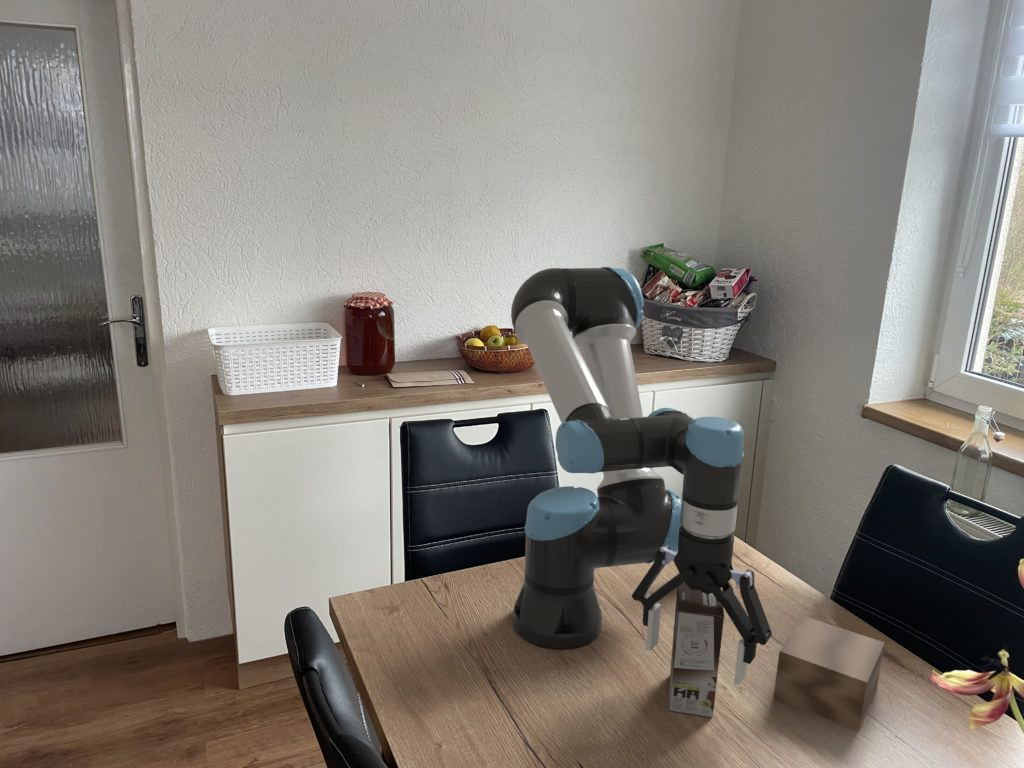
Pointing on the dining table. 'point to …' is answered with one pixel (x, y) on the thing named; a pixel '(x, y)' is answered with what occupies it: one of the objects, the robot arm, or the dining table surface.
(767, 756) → the dining table surface
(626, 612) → the dining table surface
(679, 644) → the coffee box
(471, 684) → the dining table surface
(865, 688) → the walnut block
